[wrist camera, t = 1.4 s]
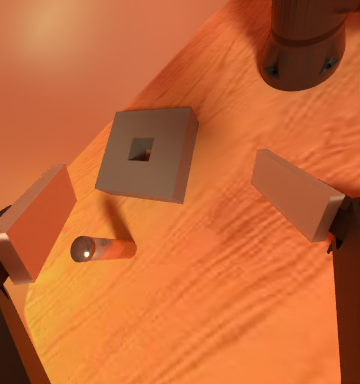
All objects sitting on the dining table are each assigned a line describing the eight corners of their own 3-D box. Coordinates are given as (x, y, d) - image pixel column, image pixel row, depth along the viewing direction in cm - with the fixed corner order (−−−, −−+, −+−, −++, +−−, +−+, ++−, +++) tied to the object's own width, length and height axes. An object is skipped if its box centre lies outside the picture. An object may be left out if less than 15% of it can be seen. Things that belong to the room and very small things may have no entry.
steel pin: (123, 238, 47) (74, 234, 35) (138, 241, 46) (93, 238, 33) (119, 256, 47) (67, 259, 34) (134, 260, 45) (85, 265, 32)
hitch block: (130, 125, 56) (116, 111, 51) (198, 122, 48) (190, 106, 43) (111, 194, 52) (94, 188, 47) (183, 203, 44) (172, 197, 39)
